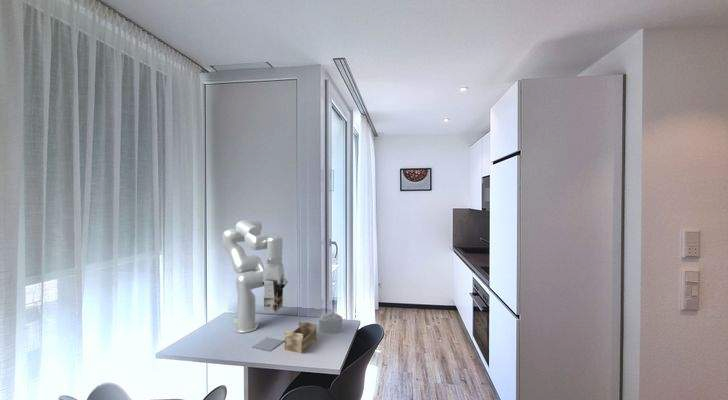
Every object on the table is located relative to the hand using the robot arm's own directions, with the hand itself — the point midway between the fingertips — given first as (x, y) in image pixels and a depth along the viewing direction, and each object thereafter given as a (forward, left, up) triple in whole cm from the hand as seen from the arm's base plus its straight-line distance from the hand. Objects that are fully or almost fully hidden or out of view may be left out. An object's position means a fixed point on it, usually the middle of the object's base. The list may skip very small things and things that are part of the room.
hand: (273, 295), depth 152 cm
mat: (-2, -1, -25) cm, 25 cm away
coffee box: (0, 0, -7) cm, 7 cm away
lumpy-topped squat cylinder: (+20, +26, -25) cm, 41 cm away
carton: (+14, +4, -25) cm, 29 cm away
